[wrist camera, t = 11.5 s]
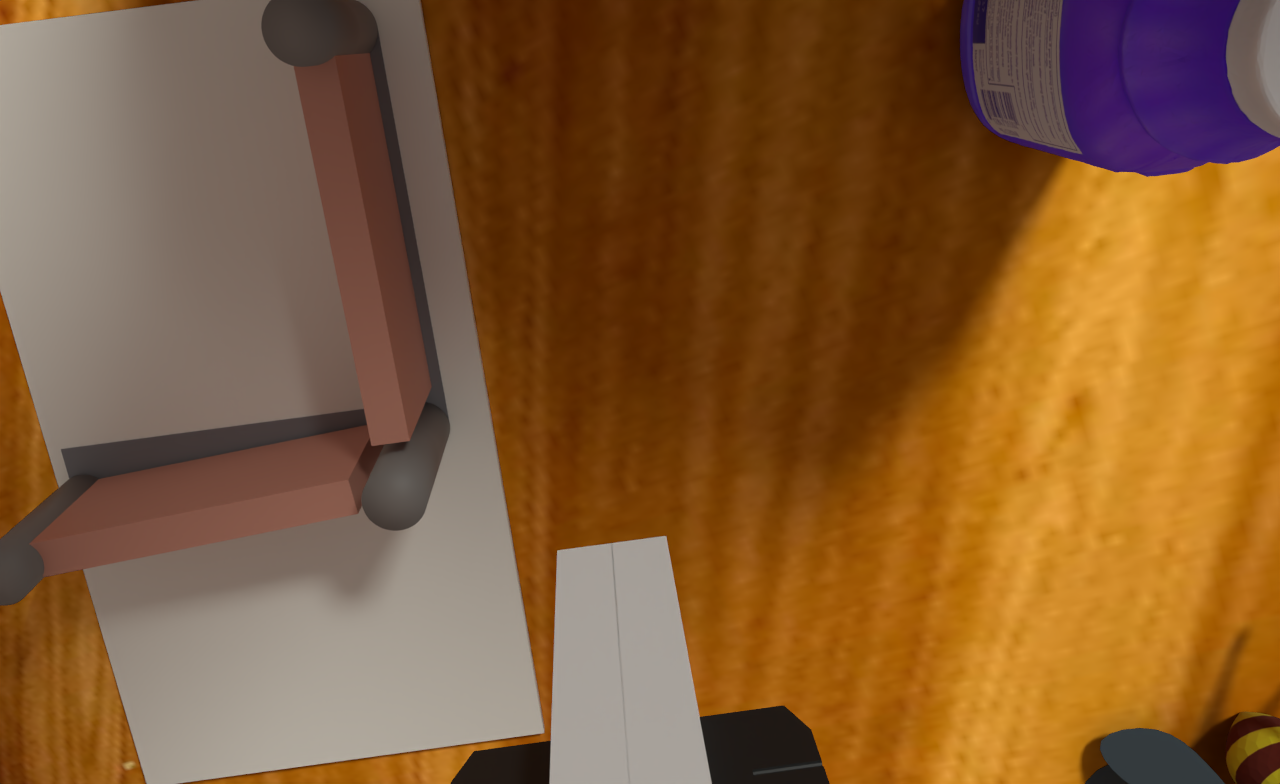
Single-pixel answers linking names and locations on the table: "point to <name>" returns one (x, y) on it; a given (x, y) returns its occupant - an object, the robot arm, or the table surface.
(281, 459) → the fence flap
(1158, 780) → the toy
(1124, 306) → the table surface
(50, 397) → the card
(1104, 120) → the bottle
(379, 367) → the fence fixed
